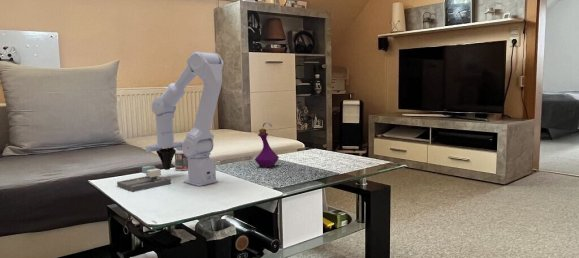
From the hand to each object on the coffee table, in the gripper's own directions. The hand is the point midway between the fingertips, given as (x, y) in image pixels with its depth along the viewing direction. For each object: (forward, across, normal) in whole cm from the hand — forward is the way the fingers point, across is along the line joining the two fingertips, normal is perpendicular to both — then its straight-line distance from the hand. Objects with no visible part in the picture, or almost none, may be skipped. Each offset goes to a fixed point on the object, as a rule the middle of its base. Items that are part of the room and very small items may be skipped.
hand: (166, 169), depth 151 cm
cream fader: (+1, +9, +7) cm, 11 cm away
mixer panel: (+3, +11, +4) cm, 12 cm away
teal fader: (+1, +7, 0) cm, 7 cm away
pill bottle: (+3, -12, -8) cm, 14 cm away
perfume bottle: (+3, -36, +14) cm, 39 cm away
